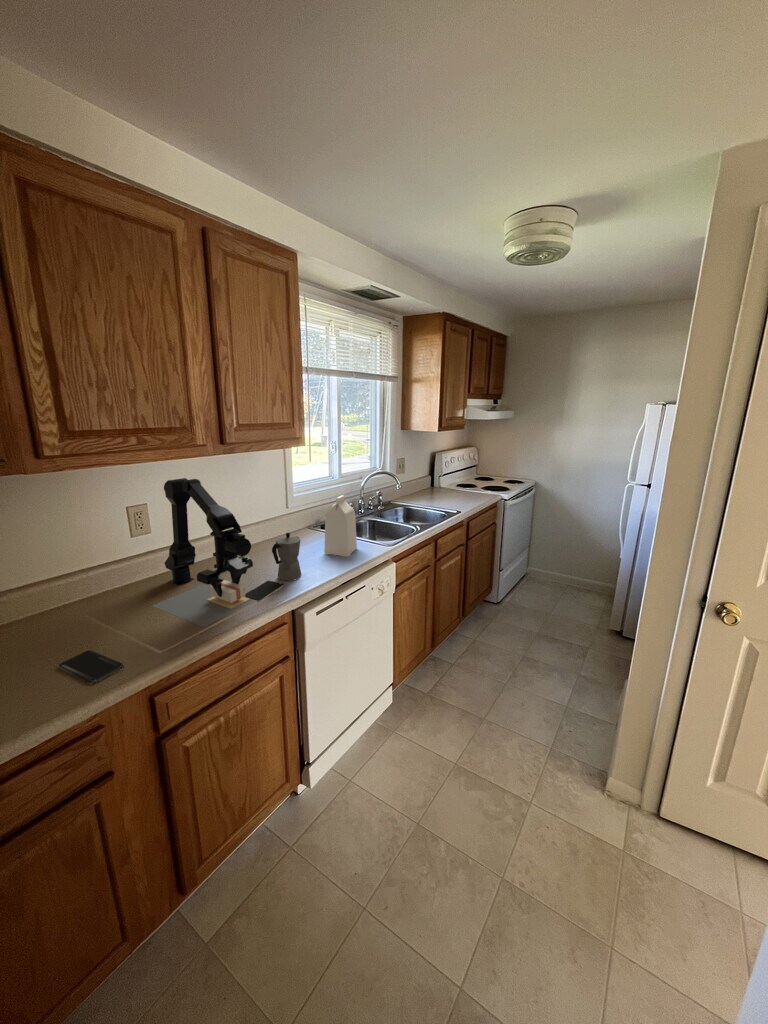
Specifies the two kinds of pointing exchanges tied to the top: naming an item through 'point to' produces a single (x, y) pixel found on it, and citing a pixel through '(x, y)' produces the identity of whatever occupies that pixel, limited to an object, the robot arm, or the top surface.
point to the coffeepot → (287, 557)
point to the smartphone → (263, 590)
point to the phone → (90, 666)
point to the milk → (340, 529)
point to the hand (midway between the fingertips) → (228, 593)
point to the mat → (200, 606)
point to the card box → (229, 591)
